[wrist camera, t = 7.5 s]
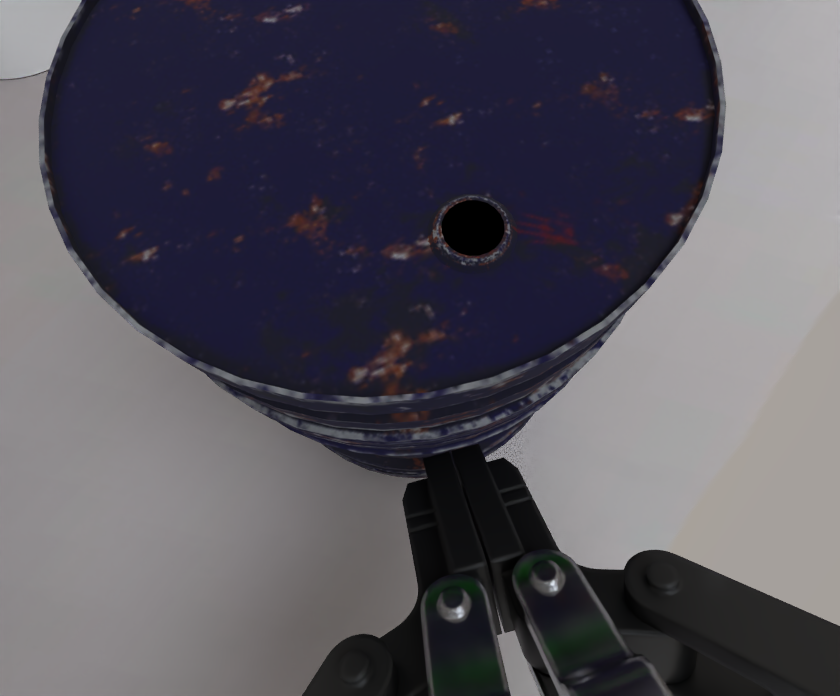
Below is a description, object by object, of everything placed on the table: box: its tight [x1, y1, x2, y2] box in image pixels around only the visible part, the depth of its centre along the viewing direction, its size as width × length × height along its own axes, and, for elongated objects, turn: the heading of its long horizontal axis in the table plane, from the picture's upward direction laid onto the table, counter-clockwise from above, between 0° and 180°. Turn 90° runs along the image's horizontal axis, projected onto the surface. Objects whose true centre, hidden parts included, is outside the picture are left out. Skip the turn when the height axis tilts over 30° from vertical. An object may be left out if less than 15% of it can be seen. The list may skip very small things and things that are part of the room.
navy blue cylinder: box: [39, 0, 726, 478], centre depth 15 cm, size 10×10×15 cm
